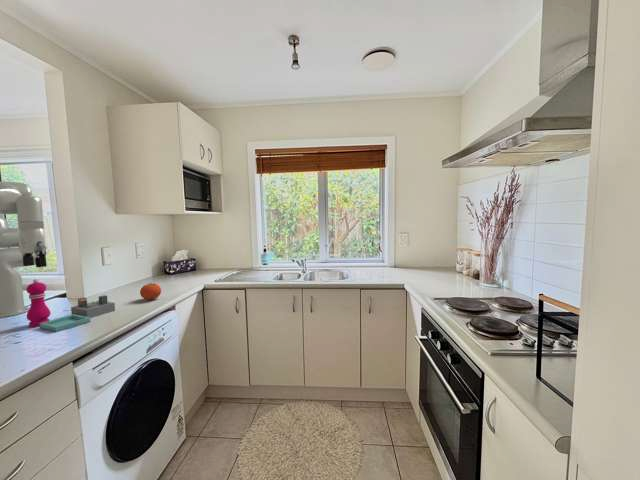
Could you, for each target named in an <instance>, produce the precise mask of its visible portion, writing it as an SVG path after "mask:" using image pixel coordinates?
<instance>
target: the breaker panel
mask: <svg viewBox="0 0 640 480" xmlns="http://www.w3.org/2000/svg"><path fill="white" fill-rule="evenodd" d="M70 310H71V313H70V314H71V315H73V314H75V315H80V316H85V317H90V319H91V318H94V317H98V316H102V315H105V314H108V313H111V312H115V311H116V305H115V302H112V301H108V303H105V304H99V299H98V300H94V301H91V302H87V306H83V307H80V306H78V305H75V306H71V308H70Z"/></svg>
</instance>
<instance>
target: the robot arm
mask: <svg viewBox="0 0 640 480" xmlns="http://www.w3.org/2000/svg"><path fill="white" fill-rule="evenodd" d="M32 194H33V193H32V190H31V187H30V186H29V185H27V183H24V182H14V181H13V182H12V181H2V180H1V181H0V318H6V317H12V316H17V315H21V314H23V313H24V314H25V313H26V312H27V313H28V311H29V309H30V307H27V306H25V300H24V299H25V298H24V289H23V288H24V287H23V278H22V275H21V274H20V273H19V271H17V270H15V268H16V269H17V268H21V267H30V266H35V267H36V268H44V267H47V246H46V239H45V233H44V229H45V224H44V212H43V211H44V210H43V201H42V198H41V197H39V196H34V195H33V196H32ZM3 215H17V218H16V219H17V226H18V227H17V228H13V227H10V225H9V221H8V220H7V219H6V218H5V216H3Z"/></svg>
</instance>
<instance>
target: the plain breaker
mask: <svg viewBox="0 0 640 480" xmlns="http://www.w3.org/2000/svg"><path fill="white" fill-rule="evenodd" d="M98 300H99V304H105V303H108V302H109V301H108V295H106V294H104V295H100V296H98Z"/></svg>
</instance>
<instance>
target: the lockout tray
mask: <svg viewBox="0 0 640 480" xmlns="http://www.w3.org/2000/svg"><path fill="white" fill-rule="evenodd" d="M88 323H91V318H90V317H85V316H80V315H75V314H73V315H72V314H70V315H66V316H63V317H59V318H55V319H52V320H50V321H47V322H43V323H40V327H39V329H42V330H46V331H49V332H54V333H59V332H62V331H65V330H68V329H71V328H75V327H78V326H82V325H86V324H88Z"/></svg>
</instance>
